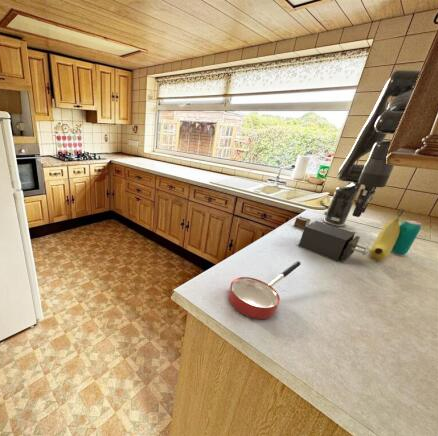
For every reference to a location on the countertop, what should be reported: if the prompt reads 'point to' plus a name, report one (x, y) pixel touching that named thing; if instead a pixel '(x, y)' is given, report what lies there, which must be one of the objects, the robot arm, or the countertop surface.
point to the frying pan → (256, 295)
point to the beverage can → (406, 237)
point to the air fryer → (325, 239)
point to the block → (301, 222)
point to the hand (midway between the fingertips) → (358, 214)
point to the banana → (386, 239)
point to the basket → (352, 248)
